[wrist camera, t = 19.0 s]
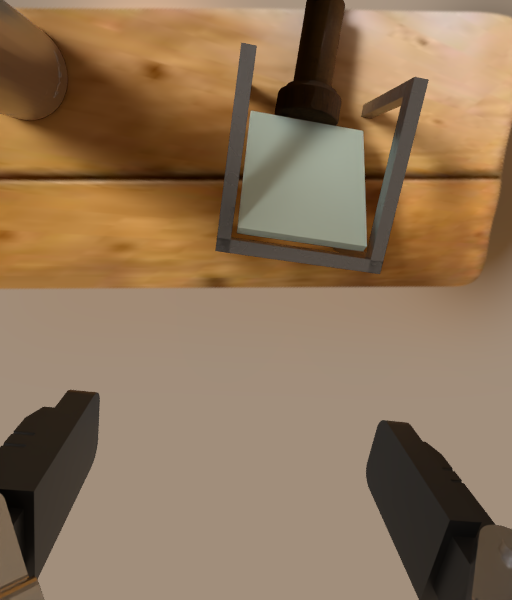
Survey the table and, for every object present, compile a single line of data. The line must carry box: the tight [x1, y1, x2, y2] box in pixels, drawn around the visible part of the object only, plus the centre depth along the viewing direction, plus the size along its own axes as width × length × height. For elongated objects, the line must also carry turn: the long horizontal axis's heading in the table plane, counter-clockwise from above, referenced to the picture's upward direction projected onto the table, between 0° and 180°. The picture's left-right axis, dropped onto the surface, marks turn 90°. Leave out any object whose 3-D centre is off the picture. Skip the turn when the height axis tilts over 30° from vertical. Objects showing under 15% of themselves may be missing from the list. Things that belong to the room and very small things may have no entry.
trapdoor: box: [237, 111, 367, 252], centre depth 39 cm, size 12×14×1 cm
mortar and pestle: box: [275, 0, 345, 126], centre depth 39 cm, size 7×6×18 cm
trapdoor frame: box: [216, 43, 428, 274], centre depth 40 cm, size 15×16×13 cm
